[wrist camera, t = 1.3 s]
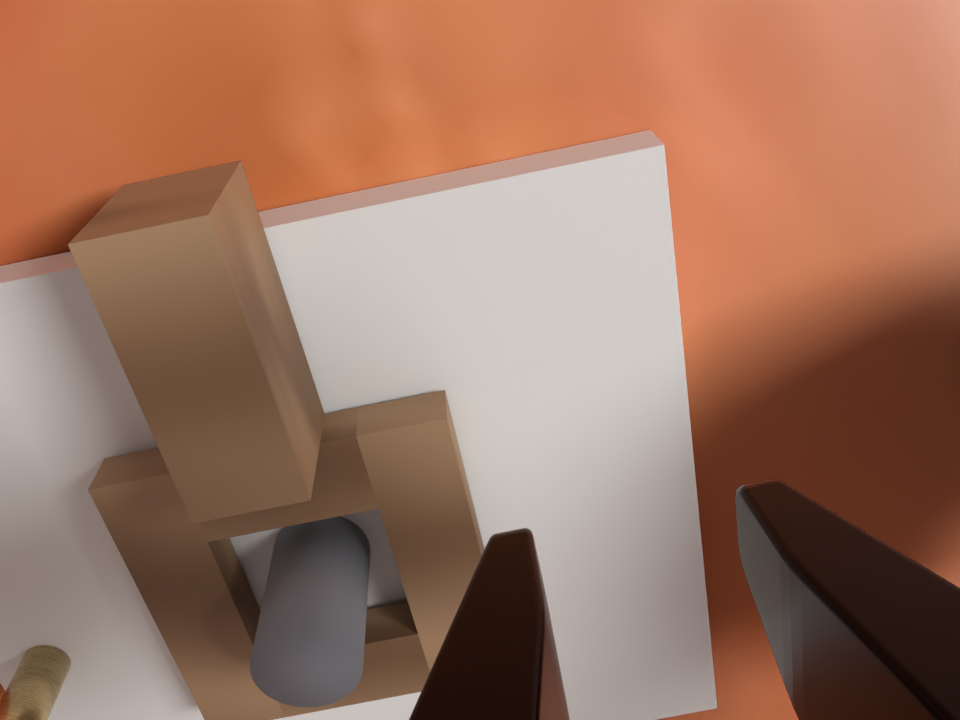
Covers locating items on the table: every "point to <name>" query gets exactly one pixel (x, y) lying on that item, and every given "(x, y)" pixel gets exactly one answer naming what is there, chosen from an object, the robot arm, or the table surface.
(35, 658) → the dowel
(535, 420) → the board
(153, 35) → the table surface
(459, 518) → the block
